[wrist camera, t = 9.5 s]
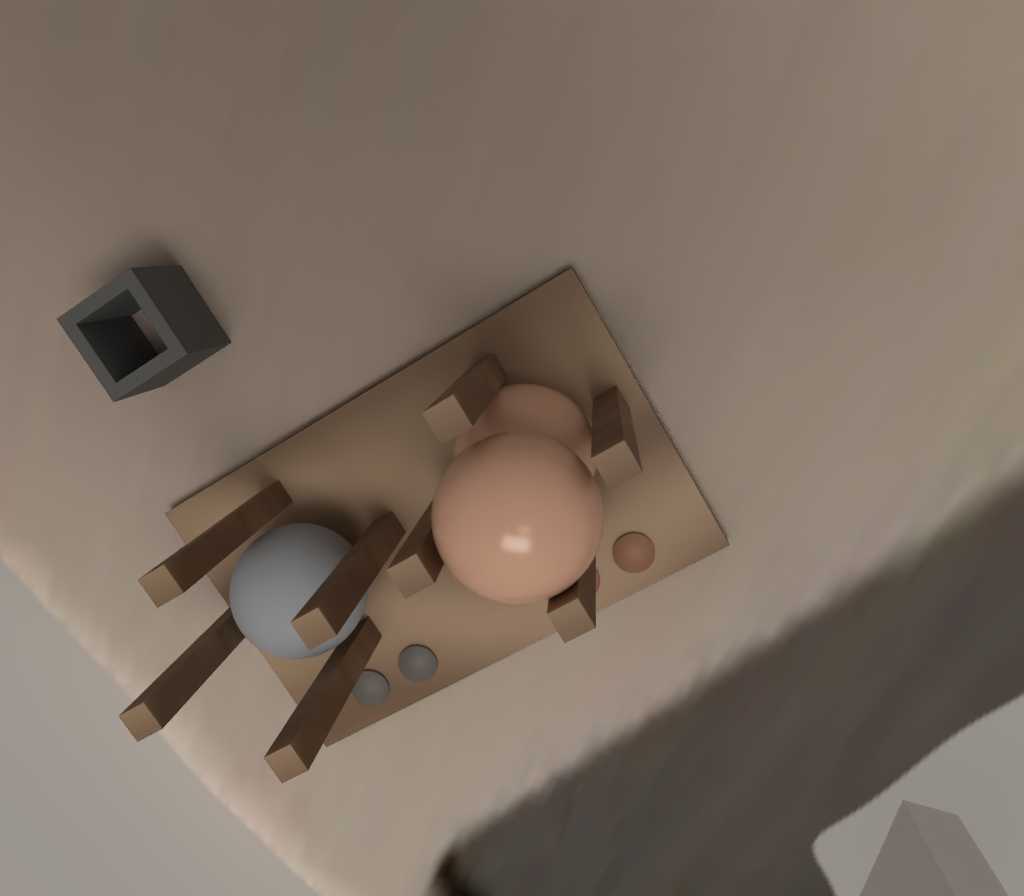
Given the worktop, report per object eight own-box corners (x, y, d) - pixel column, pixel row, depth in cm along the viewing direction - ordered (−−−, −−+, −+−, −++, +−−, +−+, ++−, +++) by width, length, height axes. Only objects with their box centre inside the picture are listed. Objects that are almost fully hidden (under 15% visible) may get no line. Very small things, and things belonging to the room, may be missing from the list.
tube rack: (172, 509, 34) (13, 606, 25) (572, 267, 30) (561, 275, 21) (330, 738, 36) (238, 910, 26) (727, 539, 32) (780, 658, 22)
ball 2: (446, 421, 31) (409, 436, 26) (559, 355, 30) (542, 358, 25) (510, 533, 31) (486, 569, 27) (625, 472, 30) (621, 498, 26)
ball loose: (447, 387, 24) (450, 483, 20) (608, 414, 25) (643, 511, 21) (418, 521, 27) (416, 631, 22) (565, 540, 28) (589, 650, 23)
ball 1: (238, 542, 33) (176, 592, 28) (338, 484, 32) (292, 526, 27) (306, 641, 34) (257, 707, 29) (405, 588, 33) (372, 646, 28)
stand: (113, 311, 32) (56, 318, 29) (180, 265, 31) (130, 267, 28) (163, 385, 32) (113, 401, 29) (230, 342, 32) (187, 353, 28)
